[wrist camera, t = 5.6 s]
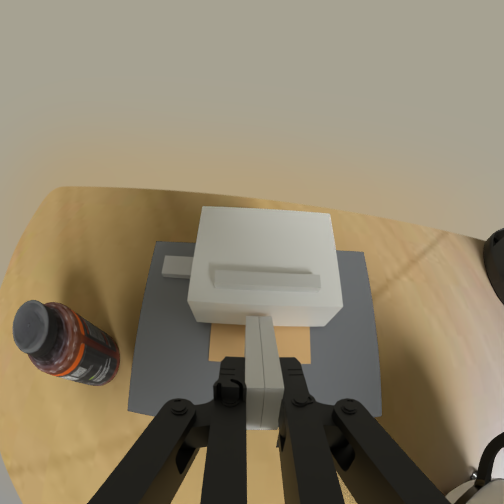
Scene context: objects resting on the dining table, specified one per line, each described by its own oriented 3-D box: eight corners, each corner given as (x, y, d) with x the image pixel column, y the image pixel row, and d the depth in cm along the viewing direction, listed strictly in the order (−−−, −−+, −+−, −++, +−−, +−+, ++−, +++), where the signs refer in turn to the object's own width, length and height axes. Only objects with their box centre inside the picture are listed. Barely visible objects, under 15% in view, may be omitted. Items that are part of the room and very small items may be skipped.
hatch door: (316, 244, 22) (332, 207, 18) (324, 326, 19) (347, 302, 15) (207, 238, 22) (201, 199, 18) (196, 321, 18) (185, 295, 14)
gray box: (336, 267, 30) (361, 227, 23) (347, 415, 21) (385, 415, 15) (176, 259, 29) (160, 215, 23) (155, 410, 21) (124, 410, 14)
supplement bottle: (86, 323, 25) (24, 275, 15) (130, 344, 24) (71, 301, 15) (67, 371, 22) (-5, 342, 12) (111, 396, 21) (40, 381, 11)
